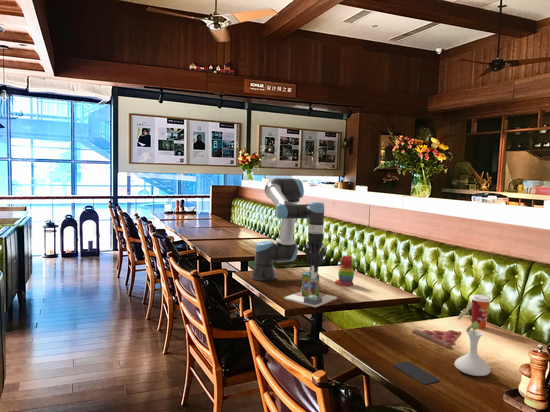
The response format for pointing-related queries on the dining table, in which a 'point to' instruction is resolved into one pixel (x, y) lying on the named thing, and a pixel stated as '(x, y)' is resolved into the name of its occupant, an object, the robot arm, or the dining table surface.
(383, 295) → the dining table surface
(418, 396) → the dining table surface
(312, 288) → the chalk box
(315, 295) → the button
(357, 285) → the dining table surface
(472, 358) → the flower in vase
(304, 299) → the picture board
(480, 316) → the paper cup
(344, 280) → the stacking bear
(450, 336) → the pizza slice
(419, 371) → the phone
